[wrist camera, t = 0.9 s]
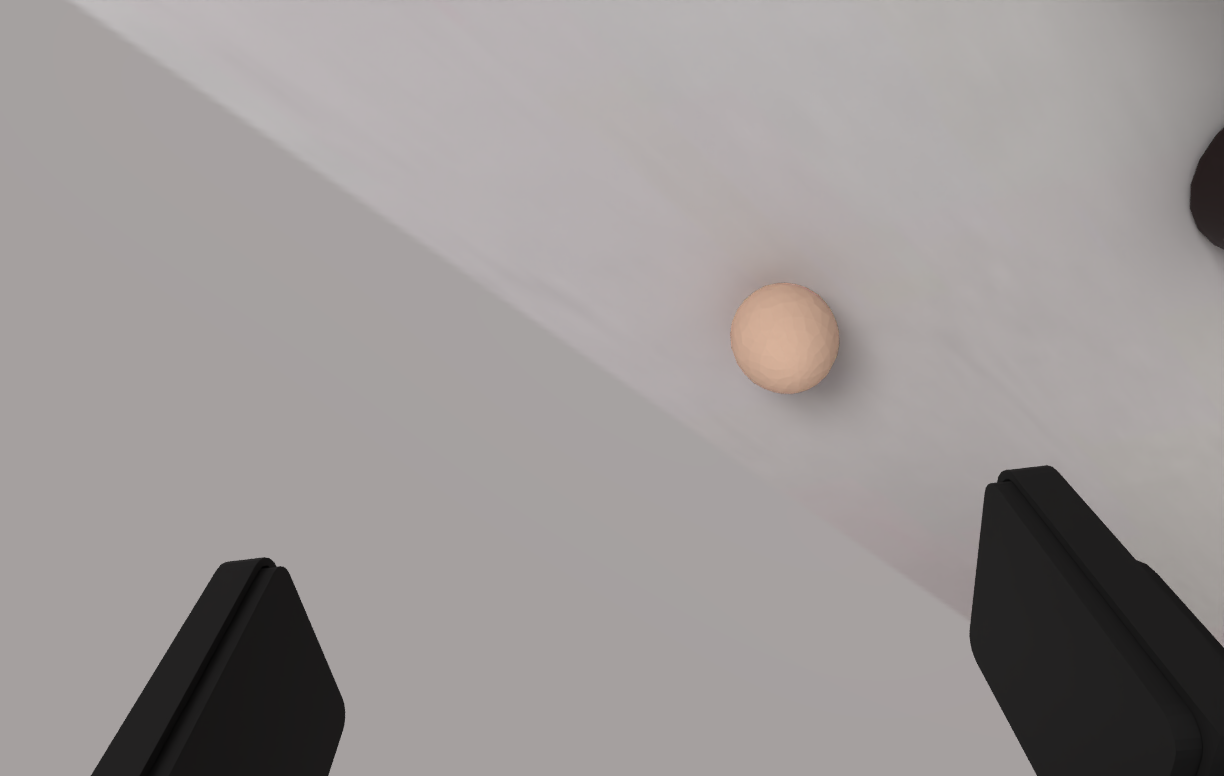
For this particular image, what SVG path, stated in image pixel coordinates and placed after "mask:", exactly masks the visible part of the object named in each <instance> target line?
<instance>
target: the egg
mask: <svg viewBox="0 0 1224 776" xmlns="http://www.w3.org/2000/svg"><path fill="white" fill-rule="evenodd" d="M730 336H731V348H732V350H733V353H734V356H735V359H736V361H737V364H738V365H739V367H740V368H741V369H742V371H743V372H744V374H745V375H746V376H747V377H748V378H749V379H750V380H751V381H752V382H753V383H755V384H757V385H759V386H760V387H762V388H764V389H767V390H770V391H773V392H777V393H781V394H793V393H799V392H802V391H805V390H808V389H810V388H812V387H813V386H815V385H817V384H818V383H819V382H820V381H821V380H823V379H824V378H825V377H826V376H827V374H828V372H829V371H830V369H831V367H832V365H833V363H834V361H835V359H836V357H837V353H838V348H839V330H838V326H837V322H836V320H835V318H834V315H833V313H832V311H831V310H830V308H829V307H828V305H827V304H826V302H825V301H824V300H823V299H822V298H821V297H820V296H819V295H817V294H816V293H814V292H813V291H811V290H809V289H808V288H806V287H803V286H800V285H796V284H790V283H777V284H772V285H768V286H764V287H762V288H761V289H759V290H757V291H755V292H754V293H753V294H751V295H750V296H749V297H748V298H746V299H745V300H744V302H743V303H742V304H741V306H740V307H739V308H738V310H737V312H736V314H735V316H734V319H733V321H732V326H731V333H730Z"/></svg>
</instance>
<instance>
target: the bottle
mask: <svg viewBox="0 0 1224 776" xmlns="http://www.w3.org/2000/svg"><path fill="white" fill-rule="evenodd" d="M1190 209H1191V212H1192V215H1193V217H1194V220H1195V223H1196V225H1197V228H1198V229H1199V230H1200V231H1201V232H1202V233H1203V234H1204V235H1205V236H1206V237H1207V238H1208V239H1209V240H1210V241H1211V242H1212V243H1213V244H1214V245H1216V246H1218V247H1220V248H1222V249H1224V128H1223V129H1222V130H1221V131H1220V132H1219V133H1218V134H1217V135H1216V136H1215V138H1214V139H1213V141H1212V142H1211V144H1210V145H1209V147H1208V148H1207V150H1206V151H1205V153H1204V154H1203V156H1202V157H1201V159H1200V161H1199V163H1198V166H1197V169H1196V172H1195V175H1194V177H1193V180H1192V183H1191V197H1190Z"/></svg>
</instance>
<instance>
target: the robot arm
mask: <svg viewBox="0 0 1224 776" xmlns="http://www.w3.org/2000/svg"><path fill="white" fill-rule="evenodd" d="M970 643H971V648H972V652H973V655H974V657H975V660H976V662H977V664H978V666H979V668H980V669H981V671H982V673H983V675H984V677H985V679H986V681H987V682H988V684H989V686H990V688H991V690H992V692H993V694H994V696H995V698H996V700H997V701H998V703H999V705H1000V707H1001V709H1002V711H1003V713H1004V715H1005V716H1006V718H1007V720H1008V722H1009V724H1010V726H1011V728H1012V730H1013V731H1014V733H1015V735H1016V737H1017V739H1018V741H1019V743H1020V744H1021V746H1022V748H1023V750H1024V752H1025V754H1026V756H1027V757H1028V760H1029V761H1030V763H1031V765H1032V767H1033V769H1034V771H1035V772H1036V775H1037V776H1224V648H1223V646H1222V645H1221V644H1220V643H1219V642H1218V641H1217V640H1216V639H1215V638H1214V636H1213V635H1212V634H1211V633H1210V632H1209V631H1208V630H1207V629H1206V627H1205V626H1204V625H1203V624H1202V623H1201V622H1200V621H1199V620H1198V619H1197V617H1196V616H1195V615H1194V614H1193V613H1192V612H1191V611H1190V610H1189V609H1188V607H1187V606H1186V605H1185V604H1184V603H1183V602H1182V601H1181V600H1180V599H1179V597H1178V596H1177V595H1176V594H1175V593H1174V592H1173V591H1172V590H1171V588H1170V587H1169V586H1168V585H1167V584H1166V583H1165V582H1164V581H1163V580H1162V578H1161V577H1160V576H1159V575H1158V574H1157V573H1156V572H1155V571H1154V570H1152V569H1151V568H1150V567H1149V566H1148V565H1147V564H1145V563H1142V562H1140V561H1137V560H1136V559H1135V558H1134V557H1133V556H1132V555H1131V554H1130V553H1129V552H1128V550H1127V549H1126V548H1125V547H1124V546H1123V545H1122V544H1121V542H1120V541H1119V540H1118V539H1117V538H1116V537H1115V536H1114V535H1113V533H1112V532H1111V531H1110V530H1109V529H1108V528H1107V527H1106V525H1105V524H1104V523H1103V522H1102V521H1101V520H1100V519H1099V518H1098V516H1097V515H1096V514H1095V513H1094V512H1093V511H1092V510H1091V508H1090V507H1089V506H1088V505H1087V504H1086V503H1085V502H1084V501H1083V499H1082V498H1081V497H1080V496H1079V495H1078V494H1077V493H1076V491H1075V490H1074V489H1073V488H1072V487H1071V486H1070V485H1069V484H1068V482H1067V481H1066V480H1065V479H1064V478H1063V477H1062V476H1061V475H1060V473H1059V472H1058V471H1057V470H1056V469H1054V468H1053V467H1051V466H1048V465H1046V466H1038V467H1029V468H1021V469H1012V470H1005V471H1003V472H1001V473H1000V475H999V477H998V481H997V483H990V484H988V485H987V487H986V490H985V495H984V504H983V514H982V523H981V532H980V541H979V550H978V559H977V569H976V578H975V587H974V596H973V605H972V614H971V624H970ZM344 722H345V707H344V702H343V699H342V696H341V694H340V691H339V689H338V687H337V684H336V682H335V680H334V678H333V675H332V673H331V670H330V668H329V666H328V663H327V661H326V659H325V656H324V654H323V651H322V649H321V647H320V644H319V642H318V640H317V637H316V635H315V633H314V630H313V628H312V626H311V623H310V621H309V619H308V616H307V614H306V611H305V609H304V607H303V604H302V602H301V600H300V597H299V595H298V593H297V590H296V588H295V586H294V583H293V581H292V579H291V576H290V574H289V572H288V571H287V569H286V568H284V567H281V566H280V567H276V565H275V563H274V562H273V561H272V560H271V559H270V558H265V557H264V558H256V559H248V560H239V561H230V562H225V563H223V564H221V565H220V567H219V568H218V569H217V571H216V572H215V574H214V575H213V577H212V578H211V580H210V582H209V583H208V585H207V587H206V588H205V590H204V592H203V593H202V595H201V596H200V598H199V600H198V601H197V603H196V605H195V606H194V608H193V610H192V611H191V613H190V615H189V616H188V618H187V619H186V621H185V623H184V624H183V626H182V627H181V629H180V631H179V632H178V634H177V636H176V637H175V639H174V641H173V642H172V644H171V645H170V647H169V649H168V650H167V652H166V654H165V655H164V657H163V659H162V660H161V662H160V663H159V665H158V667H157V669H156V670H155V672H154V673H153V675H152V677H151V678H150V680H149V681H148V683H147V685H146V686H145V688H144V690H143V691H142V693H141V695H140V696H139V698H138V700H137V701H136V703H135V704H134V706H133V708H132V709H131V711H130V713H129V714H128V716H127V718H126V719H125V721H124V722H123V724H122V726H121V727H120V729H119V731H118V733H117V734H116V736H115V737H114V739H113V740H112V742H111V744H110V745H109V747H108V749H107V750H106V752H105V754H104V756H103V757H102V759H101V760H100V762H99V764H98V765H97V767H96V768H95V770H94V772H93V773H92V775H91V776H328V775H329V771H330V768H331V765H332V762H333V759H334V756H335V753H336V750H337V747H338V743H339V741H340V738H341V735H342V731H343V728H344Z"/></svg>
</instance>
